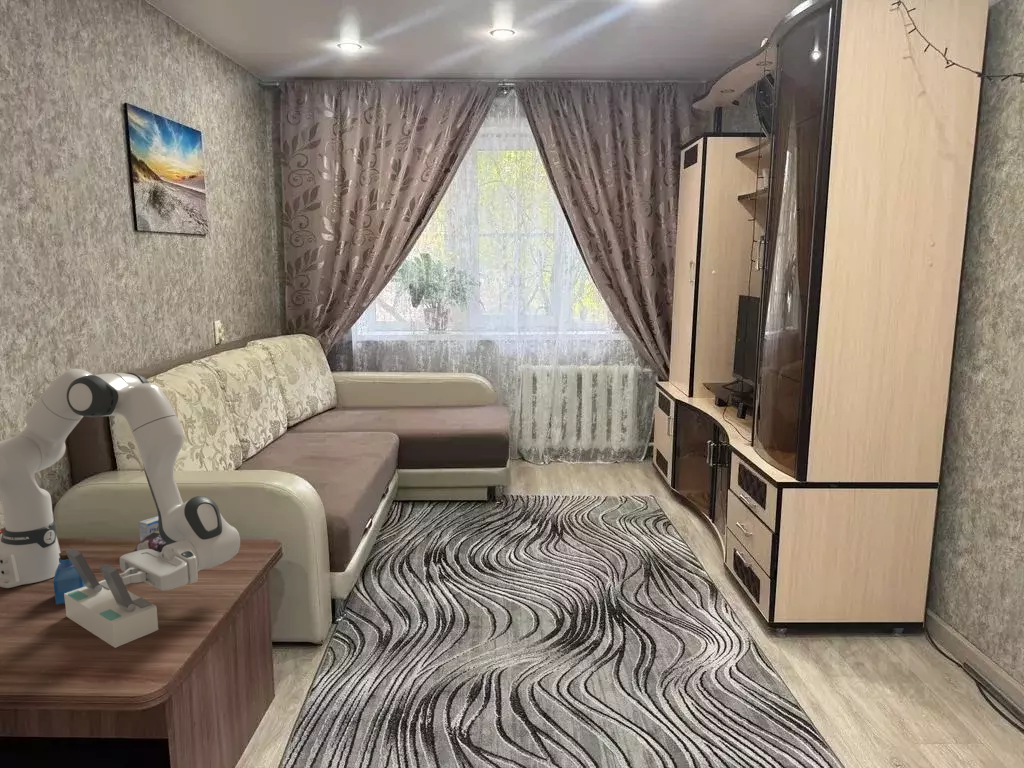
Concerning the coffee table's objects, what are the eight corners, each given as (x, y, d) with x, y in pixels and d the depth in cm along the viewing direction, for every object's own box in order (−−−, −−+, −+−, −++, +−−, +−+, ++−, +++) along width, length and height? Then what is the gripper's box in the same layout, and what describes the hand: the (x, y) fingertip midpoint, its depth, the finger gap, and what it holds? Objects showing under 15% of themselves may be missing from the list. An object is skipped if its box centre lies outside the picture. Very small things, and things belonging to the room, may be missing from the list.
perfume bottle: (55, 604, 185) (50, 559, 183) (57, 594, 191) (53, 550, 188) (84, 599, 188) (79, 555, 186) (85, 589, 193) (80, 546, 191)
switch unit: (66, 616, 179) (63, 592, 178) (108, 601, 187) (106, 578, 186) (115, 647, 165) (112, 621, 164) (158, 629, 173) (156, 604, 172)
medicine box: (149, 552, 218) (146, 524, 216) (140, 548, 220) (138, 521, 219) (173, 543, 224) (171, 516, 223) (164, 540, 227) (162, 513, 225)
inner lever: (86, 588, 181) (64, 552, 176) (93, 583, 182) (71, 547, 177) (96, 594, 178) (74, 557, 173) (103, 589, 179) (82, 552, 174)
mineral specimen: (125, 560, 207) (137, 526, 208) (163, 565, 214) (175, 532, 215) (132, 571, 200) (145, 535, 201) (171, 576, 206) (184, 541, 207)
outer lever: (118, 606, 171) (98, 567, 167) (125, 601, 173) (106, 563, 168) (129, 613, 168) (109, 573, 164) (136, 608, 170) (117, 568, 165)
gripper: (153, 538, 185) (96, 556, 174) (199, 558, 173) (141, 578, 162) (155, 562, 186) (98, 581, 175) (201, 583, 174) (143, 605, 163)
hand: (119, 580), depth 168 cm, fingers closed, pressing on outer lever
